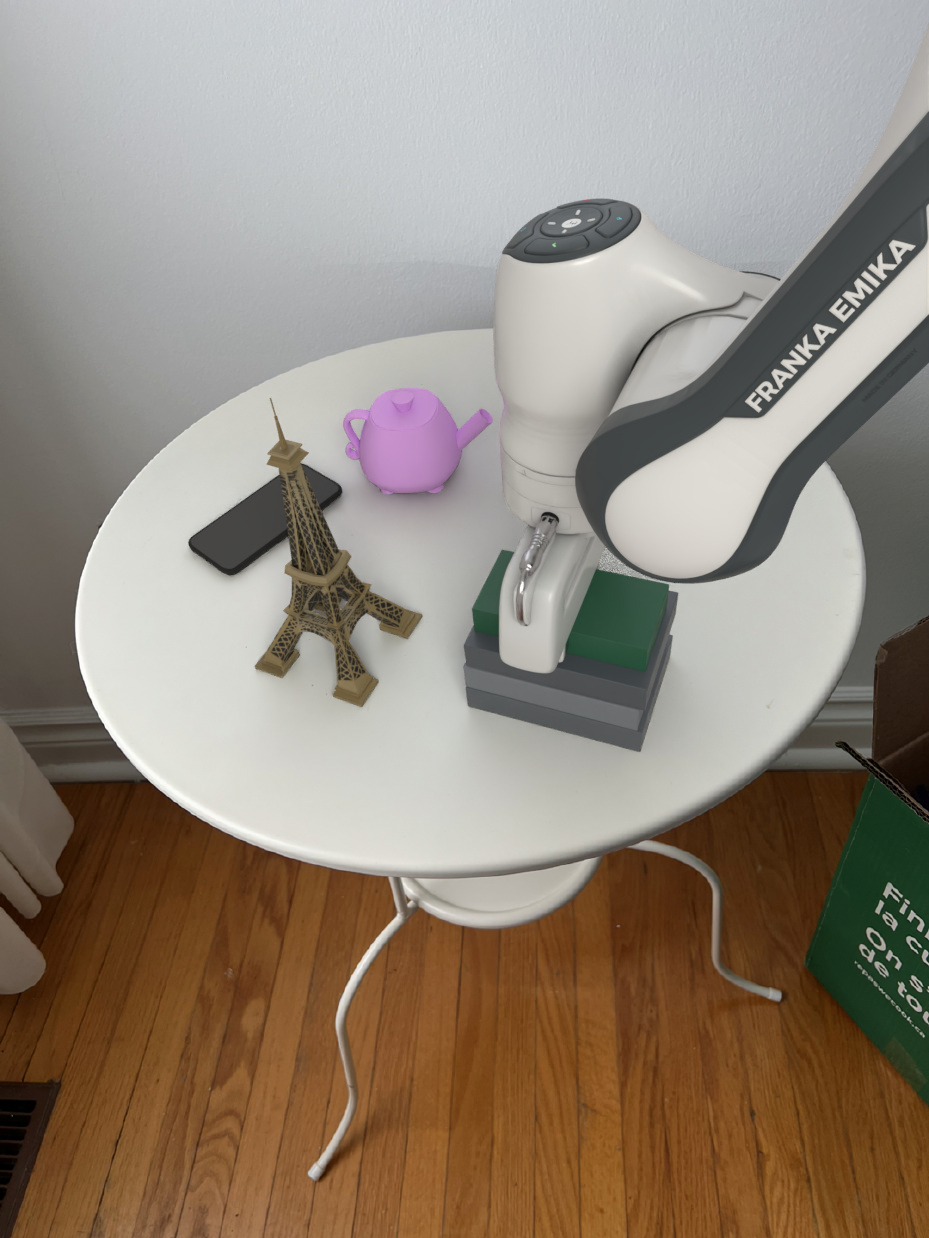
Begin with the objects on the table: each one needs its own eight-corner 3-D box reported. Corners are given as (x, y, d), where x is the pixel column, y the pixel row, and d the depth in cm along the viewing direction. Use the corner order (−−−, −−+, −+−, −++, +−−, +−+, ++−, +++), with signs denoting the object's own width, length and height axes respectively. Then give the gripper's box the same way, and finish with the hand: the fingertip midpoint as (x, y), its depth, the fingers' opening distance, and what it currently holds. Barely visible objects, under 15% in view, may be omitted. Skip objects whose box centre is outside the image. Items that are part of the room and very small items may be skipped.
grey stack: (670, 654, 75) (678, 591, 70) (640, 752, 69) (646, 692, 64) (509, 617, 80) (505, 555, 74) (467, 706, 74) (459, 646, 68)
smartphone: (182, 541, 88) (298, 459, 95) (185, 548, 89) (300, 466, 96) (228, 574, 85) (346, 486, 91) (231, 581, 85) (348, 494, 92)
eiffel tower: (422, 616, 80) (378, 369, 62) (362, 707, 74) (293, 463, 56) (321, 584, 84) (250, 342, 66) (255, 668, 78) (157, 428, 59)
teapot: (357, 443, 98) (341, 367, 91) (498, 439, 96) (493, 361, 89) (343, 508, 91) (324, 431, 84) (494, 505, 89) (488, 426, 82)
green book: (666, 607, 69) (669, 584, 67) (645, 672, 65) (647, 649, 63) (503, 571, 73) (501, 549, 71) (474, 631, 69) (471, 608, 67)
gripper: (570, 593, 51) (570, 735, 61) (658, 386, 63) (645, 533, 74) (465, 570, 53) (482, 711, 63) (569, 373, 65) (569, 518, 75)
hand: (570, 614), depth 68 cm, fingers closed on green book, 6 cm apart
